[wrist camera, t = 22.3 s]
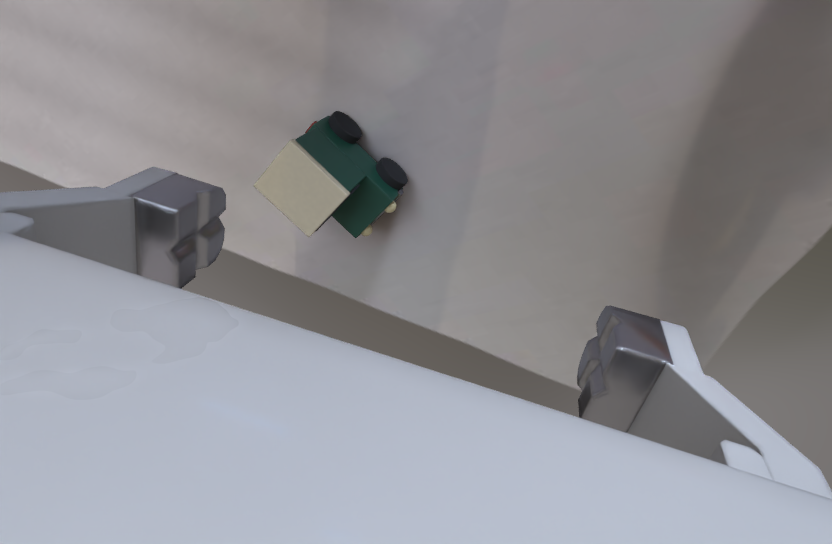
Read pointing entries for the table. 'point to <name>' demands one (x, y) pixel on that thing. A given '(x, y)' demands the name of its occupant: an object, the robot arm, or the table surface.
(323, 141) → the toy jeep
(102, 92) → the table surface
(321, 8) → the table surface
